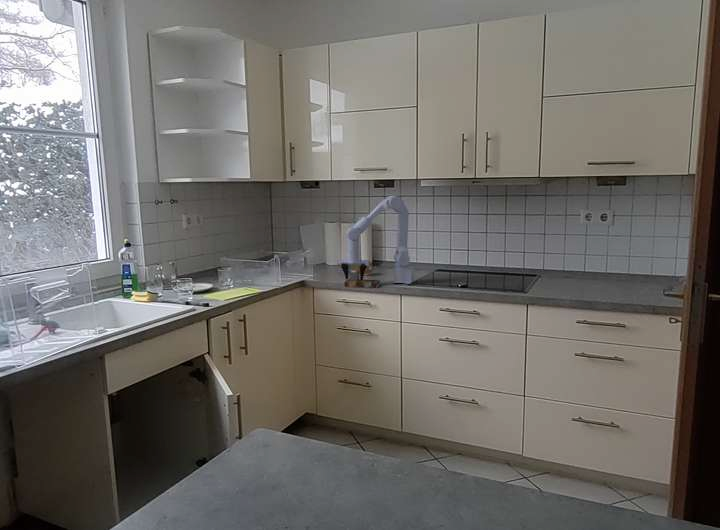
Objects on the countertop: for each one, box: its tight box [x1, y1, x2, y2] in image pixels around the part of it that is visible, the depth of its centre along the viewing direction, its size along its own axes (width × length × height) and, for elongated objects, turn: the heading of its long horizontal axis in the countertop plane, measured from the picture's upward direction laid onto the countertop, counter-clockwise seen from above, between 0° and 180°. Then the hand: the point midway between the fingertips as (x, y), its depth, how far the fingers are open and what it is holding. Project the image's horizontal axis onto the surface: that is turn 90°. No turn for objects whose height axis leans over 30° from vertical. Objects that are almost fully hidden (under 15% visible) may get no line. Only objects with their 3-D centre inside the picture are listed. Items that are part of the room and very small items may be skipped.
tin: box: [348, 259, 374, 276], centre depth 284 cm, size 15×3×8 cm, turn 76°
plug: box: [349, 270, 360, 282], centre depth 258 cm, size 4×4×8 cm
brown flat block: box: [344, 278, 380, 289], centre depth 257 cm, size 16×7×3 cm, turn 73°
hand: (354, 279), depth 258 cm, fingers open, 7 cm apart
